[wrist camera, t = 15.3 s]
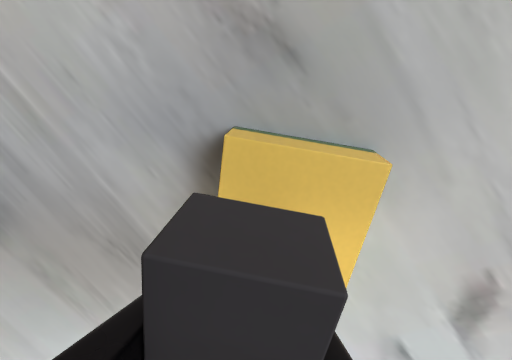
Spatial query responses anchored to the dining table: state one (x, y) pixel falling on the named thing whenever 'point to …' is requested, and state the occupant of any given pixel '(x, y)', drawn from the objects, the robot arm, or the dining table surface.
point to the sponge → (307, 183)
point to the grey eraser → (240, 284)
